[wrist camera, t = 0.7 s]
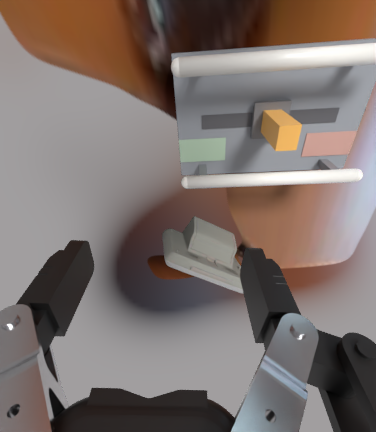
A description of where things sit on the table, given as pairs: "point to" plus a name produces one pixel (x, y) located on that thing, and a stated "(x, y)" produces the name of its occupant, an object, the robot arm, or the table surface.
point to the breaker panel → (271, 91)
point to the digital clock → (204, 253)
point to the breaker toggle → (275, 124)
